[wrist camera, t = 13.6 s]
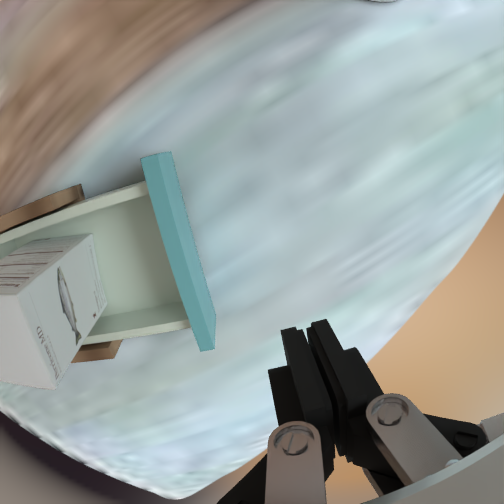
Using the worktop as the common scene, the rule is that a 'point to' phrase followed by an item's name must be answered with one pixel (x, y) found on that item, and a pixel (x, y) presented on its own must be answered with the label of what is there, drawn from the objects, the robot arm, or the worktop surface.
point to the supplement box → (47, 308)
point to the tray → (136, 256)
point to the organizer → (43, 207)
